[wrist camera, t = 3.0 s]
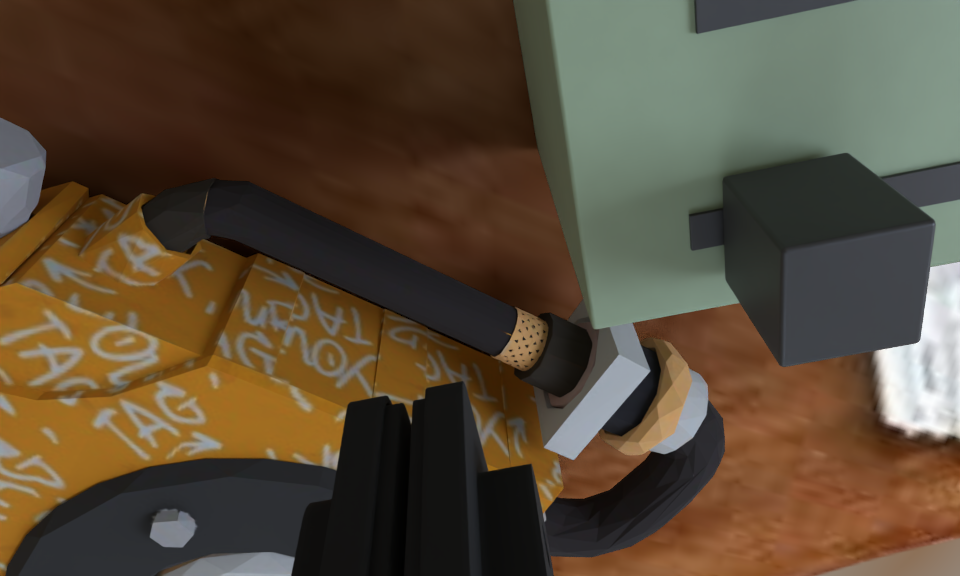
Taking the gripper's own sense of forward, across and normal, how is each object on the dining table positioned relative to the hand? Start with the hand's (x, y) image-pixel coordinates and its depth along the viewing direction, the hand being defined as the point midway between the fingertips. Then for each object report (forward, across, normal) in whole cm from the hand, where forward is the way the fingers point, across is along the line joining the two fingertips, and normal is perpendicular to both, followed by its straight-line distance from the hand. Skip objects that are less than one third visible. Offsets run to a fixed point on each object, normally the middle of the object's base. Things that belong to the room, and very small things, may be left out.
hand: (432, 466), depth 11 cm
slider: (+5, -7, 0) cm, 9 cm away
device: (+16, +9, +10) cm, 21 cm away
